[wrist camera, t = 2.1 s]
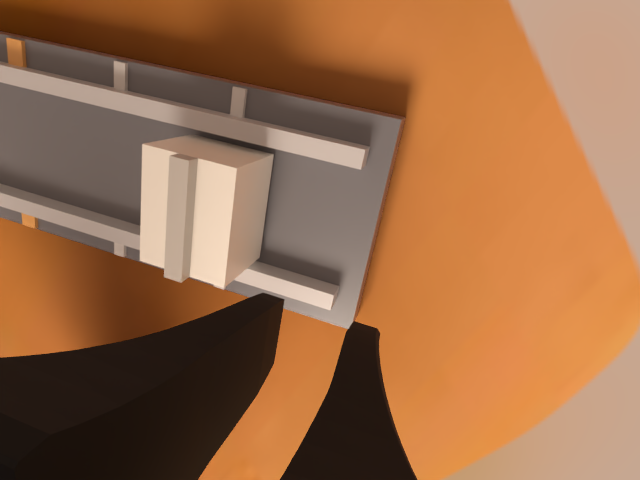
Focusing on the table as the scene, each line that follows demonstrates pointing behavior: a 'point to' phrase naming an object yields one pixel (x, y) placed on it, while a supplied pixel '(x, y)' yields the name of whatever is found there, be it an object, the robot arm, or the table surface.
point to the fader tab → (202, 207)
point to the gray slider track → (206, 121)
